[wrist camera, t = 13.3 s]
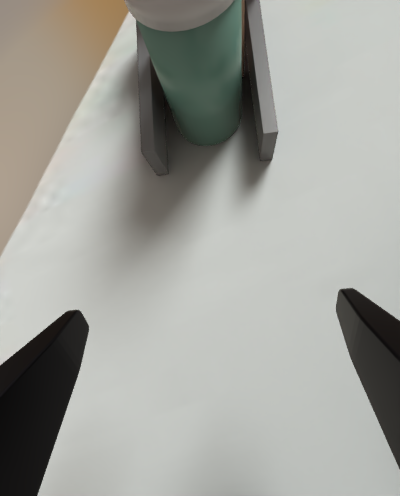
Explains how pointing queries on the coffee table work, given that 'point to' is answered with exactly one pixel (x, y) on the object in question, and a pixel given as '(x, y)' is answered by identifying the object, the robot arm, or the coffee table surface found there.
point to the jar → (196, 62)
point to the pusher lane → (260, 88)
